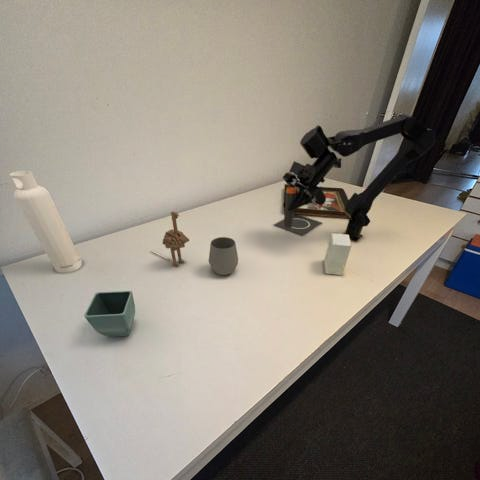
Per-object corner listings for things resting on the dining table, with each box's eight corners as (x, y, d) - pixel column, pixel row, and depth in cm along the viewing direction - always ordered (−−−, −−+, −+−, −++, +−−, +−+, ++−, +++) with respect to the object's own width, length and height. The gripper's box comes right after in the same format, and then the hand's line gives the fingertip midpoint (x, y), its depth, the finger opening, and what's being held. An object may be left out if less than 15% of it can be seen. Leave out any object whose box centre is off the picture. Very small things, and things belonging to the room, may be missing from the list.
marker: (286, 224, 96) (290, 186, 87) (293, 226, 95) (298, 188, 86) (281, 227, 95) (284, 189, 86) (288, 229, 93) (292, 191, 84)
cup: (216, 281, 82) (214, 253, 75) (205, 267, 88) (202, 239, 81) (243, 274, 85) (243, 246, 78) (230, 260, 91) (230, 233, 84)
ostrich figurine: (193, 263, 89) (186, 210, 77) (178, 272, 85) (169, 217, 73) (159, 248, 96) (148, 197, 84) (145, 255, 92) (130, 203, 80)
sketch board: (294, 214, 120) (294, 213, 120) (321, 223, 113) (321, 222, 113) (273, 225, 111) (273, 224, 111) (302, 235, 105) (302, 234, 104)
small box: (341, 275, 85) (352, 246, 78) (324, 273, 86) (332, 244, 79) (340, 262, 91) (349, 234, 84) (323, 260, 92) (331, 232, 84)
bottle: (87, 262, 89) (45, 170, 69) (69, 274, 83) (18, 179, 64) (68, 257, 91) (22, 167, 71) (49, 270, 85) (-6, 175, 66)
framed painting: (362, 219, 117) (365, 212, 115) (284, 217, 116) (285, 210, 114) (340, 190, 144) (341, 184, 142) (276, 189, 144) (277, 183, 142)
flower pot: (107, 318, 70) (95, 291, 63) (141, 316, 70) (132, 290, 64) (98, 343, 63) (82, 316, 57) (135, 341, 64) (124, 314, 58)
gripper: (291, 144, 86) (259, 185, 90) (327, 158, 74) (288, 204, 78) (306, 168, 93) (276, 205, 98) (341, 184, 81) (305, 225, 86)
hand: (285, 209), depth 90 cm, fingers closed on marker, 3 cm apart
